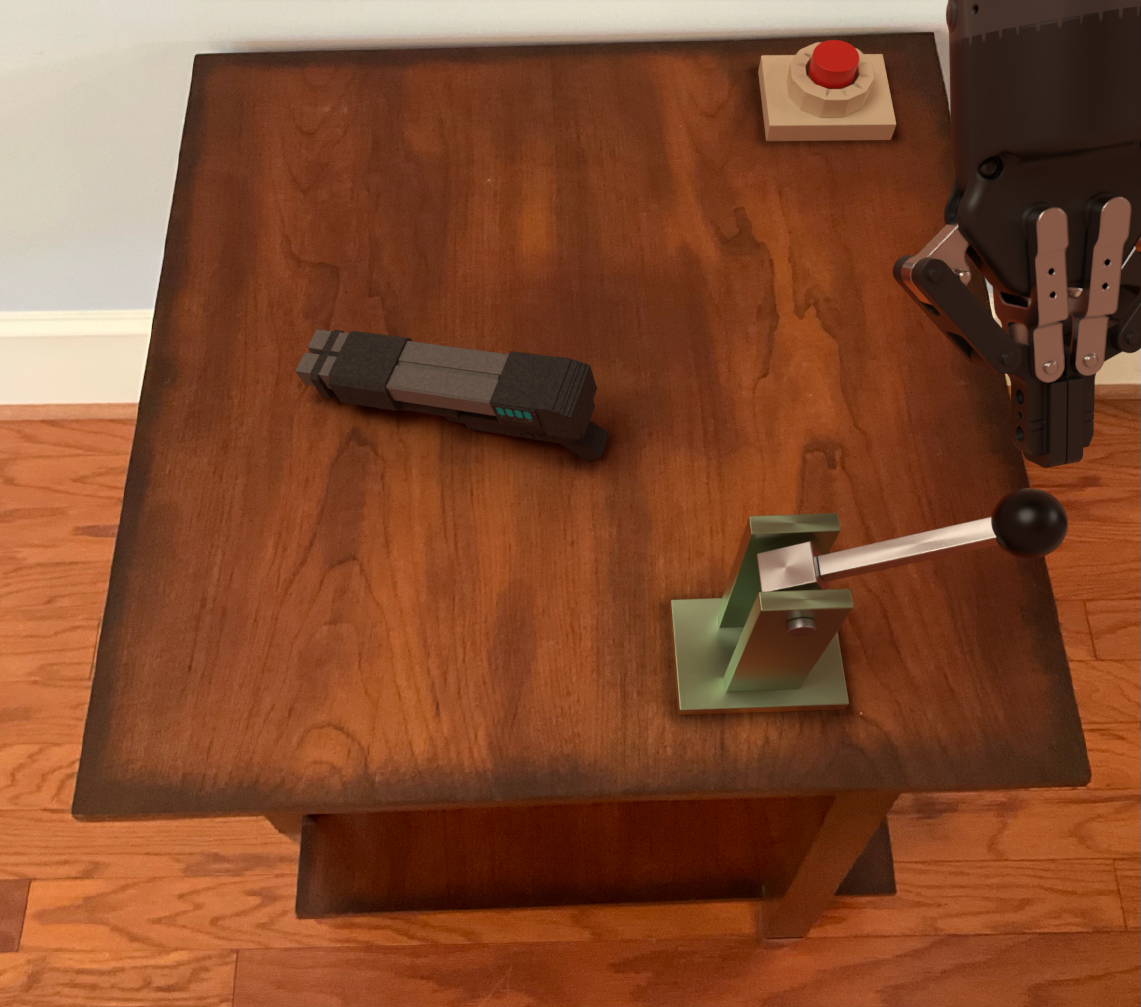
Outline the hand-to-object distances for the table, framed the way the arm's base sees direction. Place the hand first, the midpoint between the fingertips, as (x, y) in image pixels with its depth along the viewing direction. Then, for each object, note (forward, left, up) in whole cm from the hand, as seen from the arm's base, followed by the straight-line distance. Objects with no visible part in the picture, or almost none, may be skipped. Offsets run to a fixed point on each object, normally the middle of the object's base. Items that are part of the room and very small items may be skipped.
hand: (1052, 460), depth 43 cm
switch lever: (+3, +3, -8) cm, 9 cm away
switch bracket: (+8, +5, -22) cm, 24 cm away
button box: (+19, -41, -22) cm, 50 cm away
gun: (+33, -3, -22) cm, 40 cm away
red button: (+19, -41, -19) cm, 49 cm away
